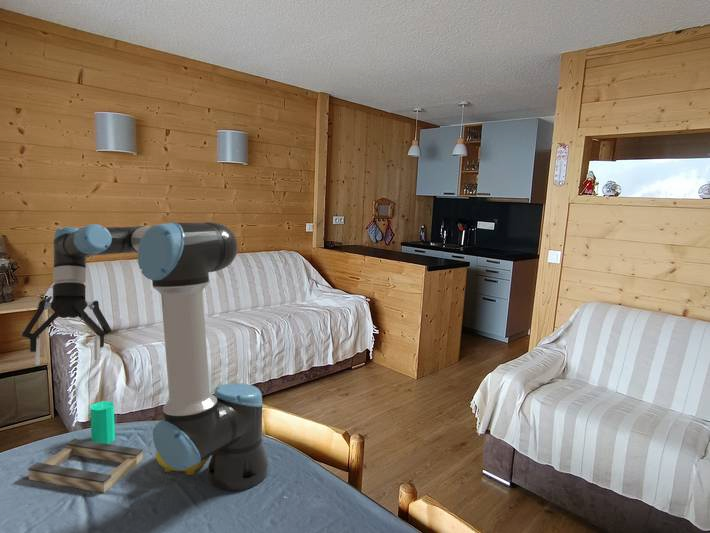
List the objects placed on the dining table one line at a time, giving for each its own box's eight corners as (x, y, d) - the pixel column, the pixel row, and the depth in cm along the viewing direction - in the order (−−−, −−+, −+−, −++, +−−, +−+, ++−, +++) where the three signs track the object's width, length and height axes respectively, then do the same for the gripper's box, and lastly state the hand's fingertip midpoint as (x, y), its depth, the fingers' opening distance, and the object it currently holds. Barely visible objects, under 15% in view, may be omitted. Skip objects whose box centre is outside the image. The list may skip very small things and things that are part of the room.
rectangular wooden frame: (142, 459, 118) (142, 449, 118) (104, 492, 105) (103, 481, 104) (74, 448, 122) (74, 438, 122) (29, 479, 108) (28, 468, 108)
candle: (104, 446, 124) (103, 406, 122) (86, 443, 125) (84, 403, 123) (120, 436, 130) (118, 397, 128) (102, 433, 131) (100, 394, 129)
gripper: (115, 287, 133) (115, 358, 129) (10, 285, 116) (7, 367, 112) (123, 282, 127) (123, 357, 123) (14, 279, 110) (10, 366, 106)
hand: (68, 362), depth 117 cm, fingers open, 13 cm apart
